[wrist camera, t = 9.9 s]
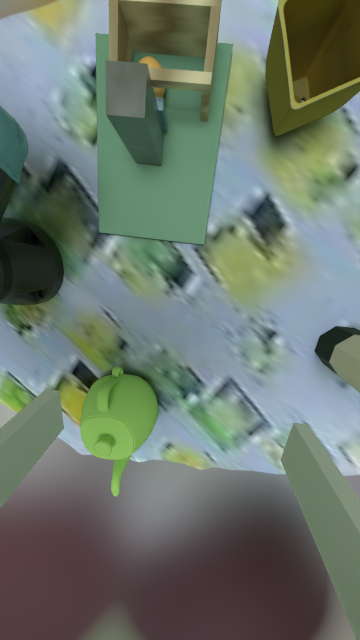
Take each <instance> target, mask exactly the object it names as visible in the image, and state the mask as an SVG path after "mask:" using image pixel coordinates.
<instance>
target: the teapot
mask: <svg viewBox="0 0 360 640" xmlns="http://www.w3.org/2000/svg"><path fill="white" fill-rule="evenodd" d="M157 416H158V402H157V398H156V396H155V393H154V391H153V390H152V388H151V387H150V385H149V384H148V383H147V382H146V381H145V380H144V379H142V378H140V377H138V376H135V375H129V374H123V369H122V368H121V367H119V366H115V367H114V368H113V369H112V375H108V376H104V377H102V378H100V379H98V380H97V381H96V382H95V383H94V384H93V385H92V386H91V388H90V390H89V391H88V393H87V396H86V398H85V401H84V404H83V409H82V416H81V437H82V440H83V443H84V445H85V446H86V448H87V449H88V451H89V452H90V453H91V454H93V455H94V456H97V457H99V458H104V459H114V466H113V473H112V481H111V490H112V493H113V495H114V496H118V494H119V489H120V481H121V477H122V474H123V471H124V469H125V467H126V465H127V463H128V461H129V459H130V457H131V454H133V453H134V452H135V451H136V450H137V449H138V448H139V447H140V446H141V445H142V444H143V443H144V442H145V441H146V440H147V438H148V437H149V435H150V433H151V432H152V430H153V428H154V425H155V423H156V420H157Z"/></svg>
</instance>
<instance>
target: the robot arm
mask: <svg viewBox="0 0 360 640" xmlns="http://www.w3.org/2000/svg"><path fill="white" fill-rule="evenodd" d="M27 153H28V141H27V138H26V135H25V133H24V131H23V129H22V128H21V127H20V125H19V124H18V123H17V121H16V120H15V119H14V118H13V117H12V116H11V115H10V114H9V113H8V112H7V111H5V110H4V109H3V108H2V107H1V106H0V303H3V304H14V305H34V304H38V303H41V302H44V301H47V300H49V299H51V298H52V297H53V296H54V295H55V294H56V293H57V292H58V290H59V288H60V286H61V284H62V280H63V264H62V260H61V256H60V254H59V251H58V249H57V247H56V246H55V244H54V243H53V241H52V240H51V239H50V237H49V236H48V235H47V234H46V233H45V232H44V231H42V230H41V229H40V228H38V227H37V226H35V225H33V224H31V223H29V222H26V221H23V220H18V219H14V218H7V217H3V215H4V212H5V210H6V208H7V205H8V203H9V201H10V199H11V196H12V194H13V192H14V190H15V188H16V185H17V183H20V181H21V179H20V175H21V171H22V168H23V165H24V162H25V159H26V156H27ZM63 429H64V426H63V418H62V410H61V402H60V394H59V391H56V390H49V389H46V390H45V391H44V392H42V393H41V394H40V395H39V396H38V397H37V398H35V399H34V400H33V401H32V402H31V403H30V404H28V405H27V406H26V407H25V408H24V409H22V410H21V411H20V412H19V413H18V414H17V415H15V416H14V417H13V418H12V419H11V420H10V421H8V422H7V423H6V424H5V425H4V426H3V427H1V428H0V507H1V506H2V505H3V504H4V503H5V501H6V500H7V499H8V498H9V496H10V495H11V494H12V493H13V491H14V490H15V489H16V487H17V486H18V485H19V484H20V483H21V481H22V480H23V479H24V477H25V476H26V475H27V474H28V472H29V471H30V470H31V469H32V467H33V466H34V465H35V464H36V462H37V461H38V460H39V459H40V457H41V456H42V455H43V454H44V452H45V451H46V450H47V449H48V447H49V446H50V445H51V443H52V442H53V441H54V440H55V439H56V437H57V436H58V435H59V434H60V432H61V431H62V430H63ZM281 462H282V464H283V467H284V469H285V471H286V474H287V476H288V479H289V481H290V483H291V486H292V488H293V490H294V493H295V495H296V498H297V500H298V502H299V505H300V507H301V509H302V512H303V514H304V517H305V519H306V521H307V524H308V526H309V528H310V531H311V533H312V535H313V538H314V540H315V542H316V545H317V547H318V550H319V552H320V554H321V557H322V559H323V562H324V564H325V566H326V569H327V571H328V573H329V576H330V578H331V581H332V583H333V585H334V588H335V590H336V592H337V595H338V597H339V600H340V602H341V604H342V606H343V609H344V611H345V614H346V616H347V619H348V621H349V623H350V626H351V628H352V630H353V633H354V635H355V637H356V640H360V500H359V499H358V497H357V496H356V494H355V493H354V491H353V490H352V489H351V487H350V485H349V484H348V483H347V481H346V480H345V478H344V477H343V475H342V474H341V472H340V471H339V469H338V468H337V466H336V465H335V463H334V462H333V460H332V459H331V458H330V456H329V455H328V453H327V452H326V450H325V449H324V447H323V446H322V444H321V443H320V441H319V440H318V438H317V437H316V435H315V434H314V433H313V431H312V430H311V428H310V427H309V425H306V424H299V423H293V426H292V429H291V432H290V435H289V437H288V440H287V443H286V446H285V449H284V452H283V455H282V458H281Z"/></svg>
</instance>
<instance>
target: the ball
mask: <svg viewBox="0 0 360 640" xmlns="http://www.w3.org/2000/svg"><path fill="white" fill-rule="evenodd" d="M138 63H146V64H147V65H148V67H153V68H162V67H161V65H160V63H159V62H158V61H157V60H156V59H155V58H153V57H150V56H146V57H144V58H142V59H141V60H140V61H139V62H138ZM153 89H154V93H155V97H161V98H163V96H164V93H165V88H156V87H153Z"/></svg>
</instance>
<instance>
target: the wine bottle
mask: <svg viewBox="0 0 360 640" xmlns="http://www.w3.org/2000/svg"><path fill="white" fill-rule="evenodd" d="M315 352H316V354H317V355H318V357H319V358H320V359H321V361H322V362H323V363H324V364H325V365H326V366H327V367H329V368H330V369H331V370H332V371H334V372H335V373H336V374H337V375H339V376H340V377H341V378H342V379H344V380H345V381H346V382H347V383H348V384H350V385H351V386H352V387H353V388H355V389H356V390H357V391H358V392H360V330H357V329H355V328H348V327H339V326H336V327H334V328H333V329H331V330H329V331H328V332H326V333H324V334H323V335H321V336H320V337H319V340H318V343H317V346H316V349H315Z"/></svg>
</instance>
